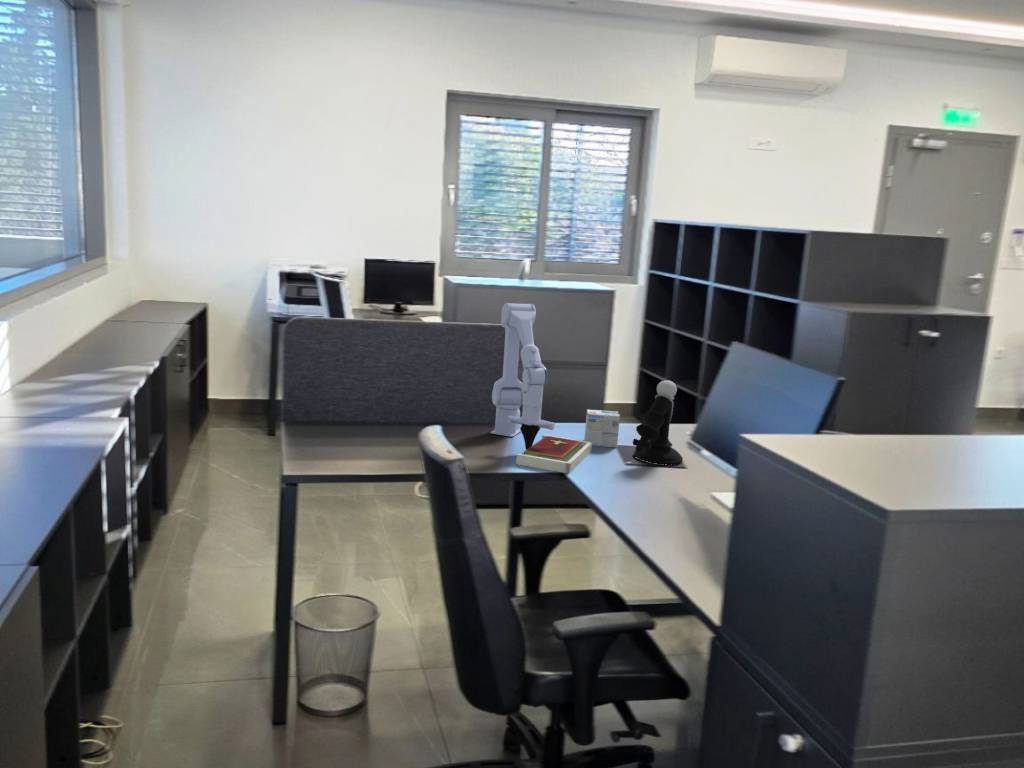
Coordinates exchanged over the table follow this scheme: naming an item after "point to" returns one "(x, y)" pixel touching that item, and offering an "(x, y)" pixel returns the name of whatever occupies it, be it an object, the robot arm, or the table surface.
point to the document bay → (556, 464)
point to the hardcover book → (554, 448)
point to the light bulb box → (602, 428)
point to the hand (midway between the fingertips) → (528, 448)
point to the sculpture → (658, 429)
